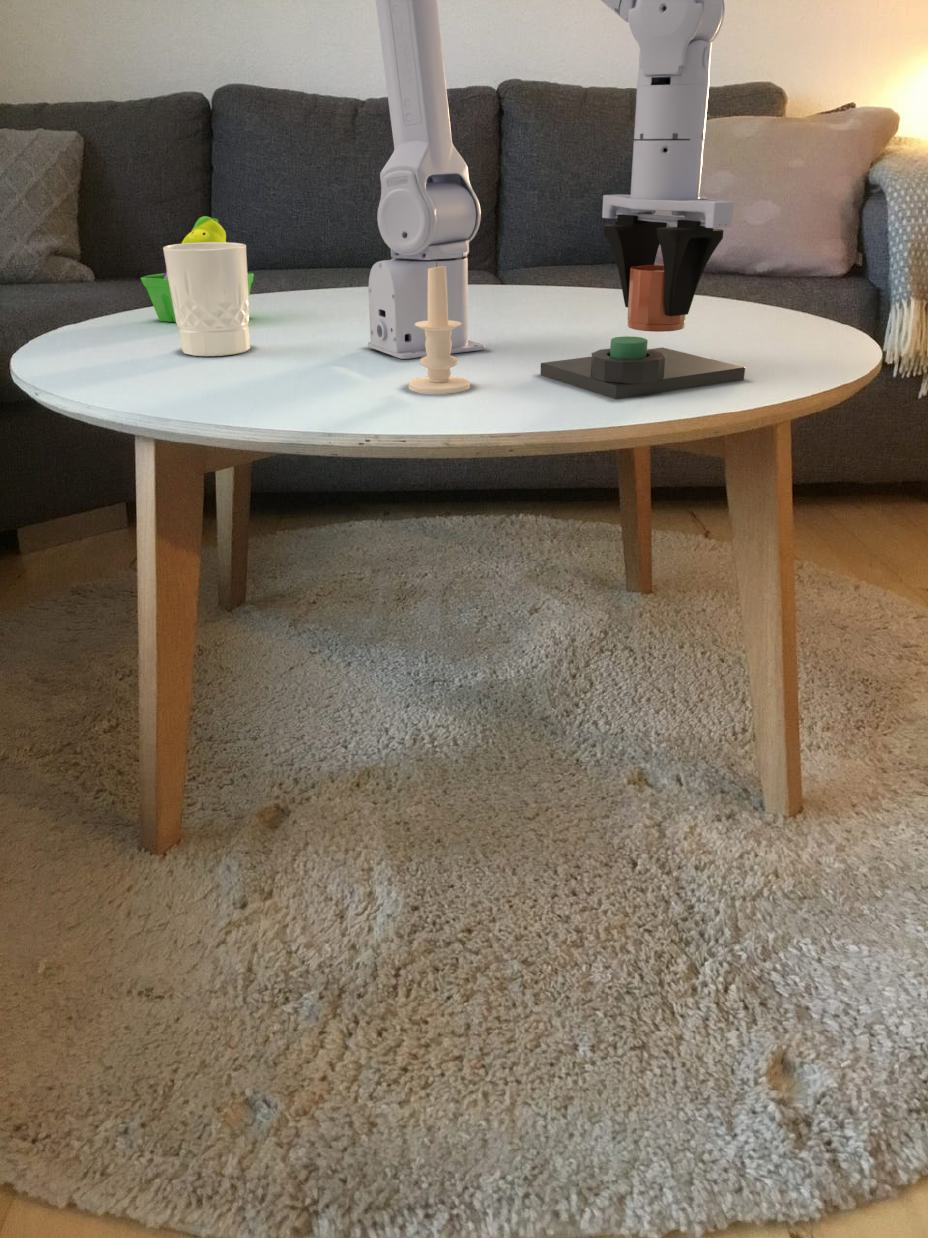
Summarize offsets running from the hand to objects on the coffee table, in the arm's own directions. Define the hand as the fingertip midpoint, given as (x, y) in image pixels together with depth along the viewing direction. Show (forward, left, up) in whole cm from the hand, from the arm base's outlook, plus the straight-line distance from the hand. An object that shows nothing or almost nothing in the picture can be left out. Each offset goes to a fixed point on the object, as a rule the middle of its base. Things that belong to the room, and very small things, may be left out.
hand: (656, 310), depth 89 cm
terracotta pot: (0, 0, -1) cm, 1 cm away
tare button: (-6, -4, -3) cm, 8 cm away
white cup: (-30, +31, -6) cm, 44 cm away
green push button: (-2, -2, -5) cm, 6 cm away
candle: (-19, +4, -6) cm, 21 cm away
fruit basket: (-25, +51, -6) cm, 58 cm away
